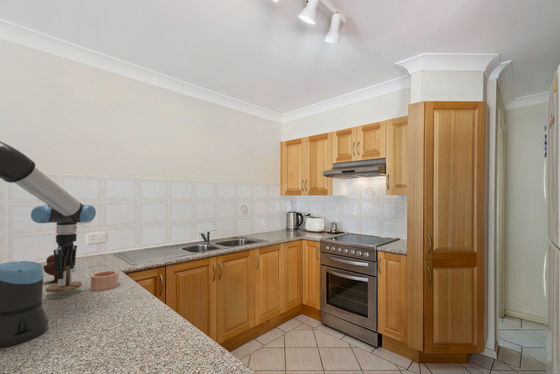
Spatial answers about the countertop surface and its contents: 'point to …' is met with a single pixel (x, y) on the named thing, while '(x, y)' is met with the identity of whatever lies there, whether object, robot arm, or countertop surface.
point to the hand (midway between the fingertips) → (64, 284)
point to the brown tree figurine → (51, 268)
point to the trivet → (64, 293)
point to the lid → (67, 283)
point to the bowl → (104, 280)
